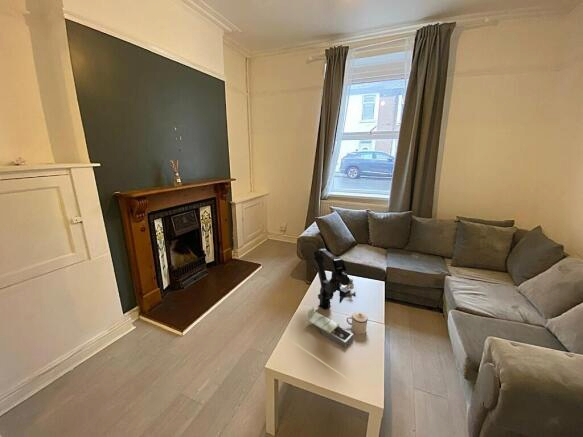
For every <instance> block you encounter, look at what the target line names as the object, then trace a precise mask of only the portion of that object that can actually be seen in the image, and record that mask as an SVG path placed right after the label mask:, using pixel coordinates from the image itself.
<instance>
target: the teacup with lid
mask: <svg viewBox="0 0 583 437" xmlns="http://www.w3.org/2000/svg"><path fill="white" fill-rule="evenodd" d="M349 319H350V320H351V322H350V321H349ZM368 321H369V319H368V316H367V315H366V314H365V313H364V312H361V311H357V312H354V313H352V315H351V316H348V317H347V318H346V323H347V324H348V325H350V327H351V328H350V329H351V331H352V332H354V333H355V334H358V335H364V334H365V333H366V332H367V327H368V326H367V324H368Z"/></svg>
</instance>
